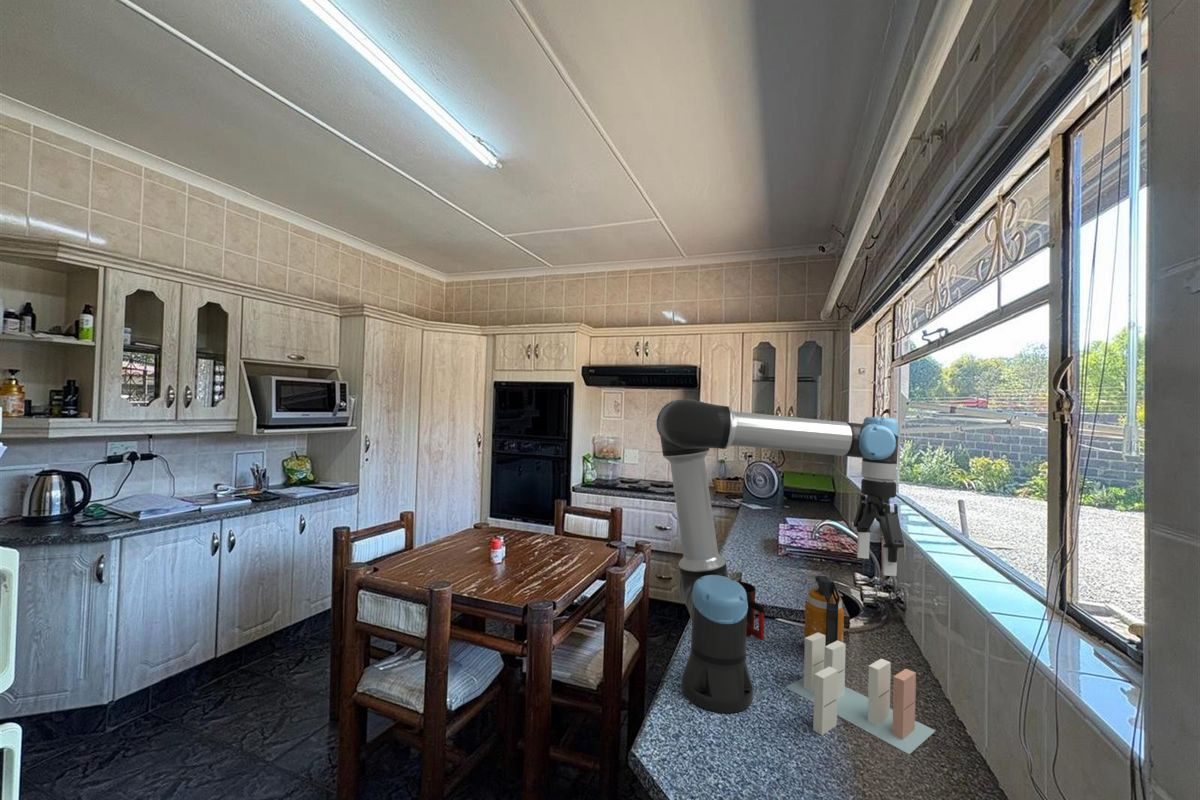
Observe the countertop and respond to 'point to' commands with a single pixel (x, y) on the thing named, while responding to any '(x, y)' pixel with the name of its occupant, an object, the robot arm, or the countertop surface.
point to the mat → (856, 713)
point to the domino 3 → (825, 700)
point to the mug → (753, 612)
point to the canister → (824, 611)
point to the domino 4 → (879, 692)
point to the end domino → (904, 703)
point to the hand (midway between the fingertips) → (875, 566)
